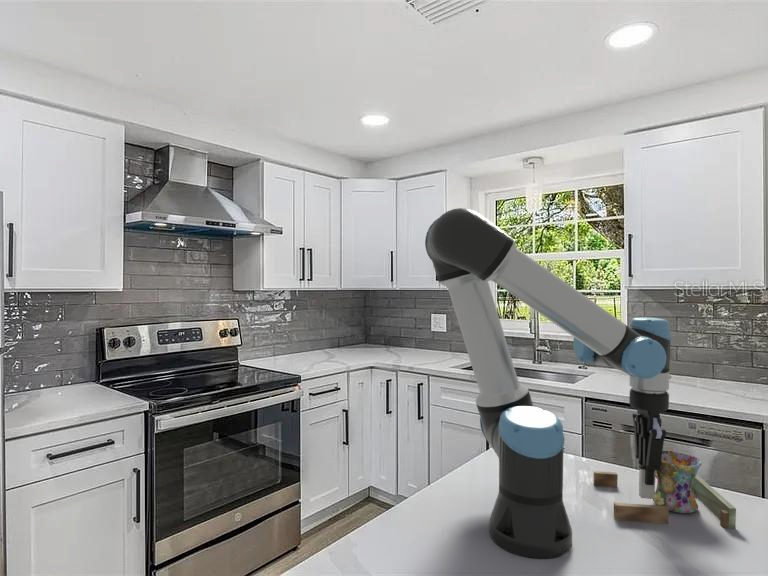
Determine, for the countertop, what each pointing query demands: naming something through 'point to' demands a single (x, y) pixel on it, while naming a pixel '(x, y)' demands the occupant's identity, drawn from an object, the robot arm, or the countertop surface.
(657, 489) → the mug
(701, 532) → the countertop surface
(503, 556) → the countertop surface
